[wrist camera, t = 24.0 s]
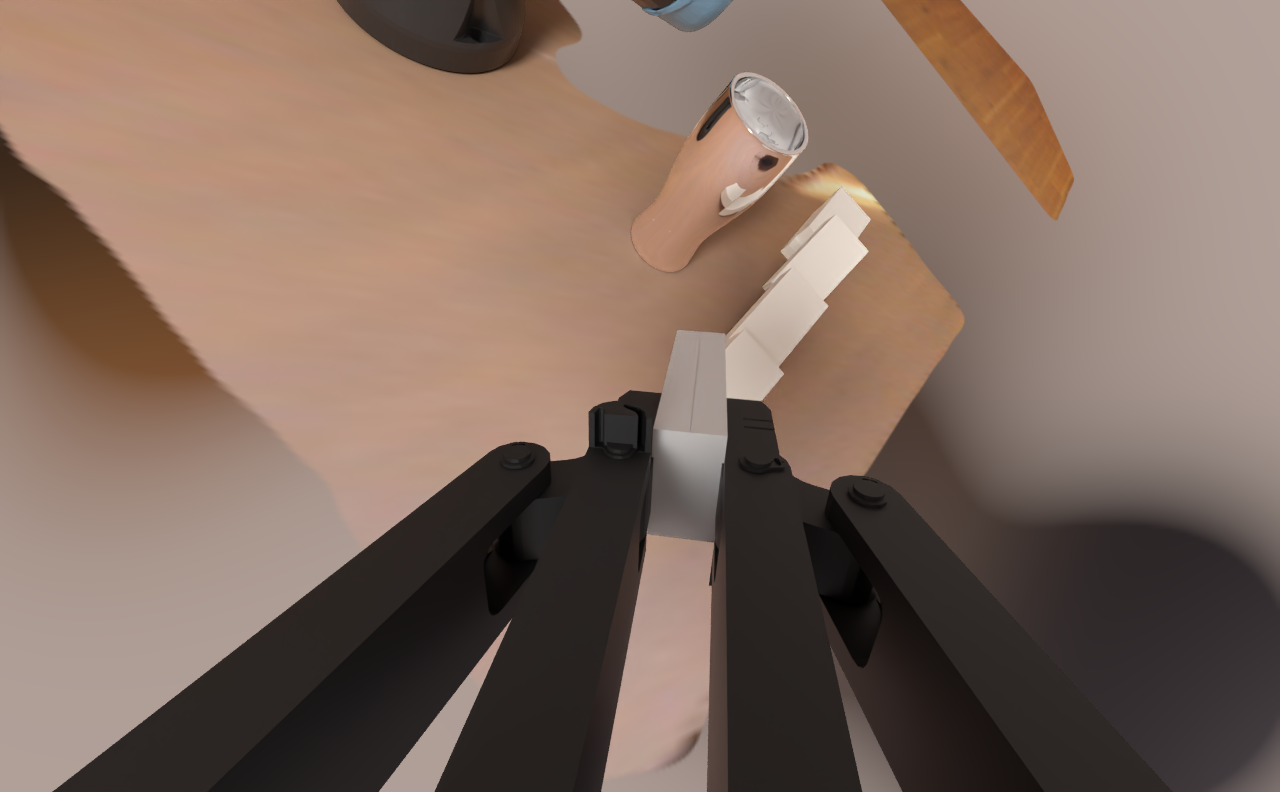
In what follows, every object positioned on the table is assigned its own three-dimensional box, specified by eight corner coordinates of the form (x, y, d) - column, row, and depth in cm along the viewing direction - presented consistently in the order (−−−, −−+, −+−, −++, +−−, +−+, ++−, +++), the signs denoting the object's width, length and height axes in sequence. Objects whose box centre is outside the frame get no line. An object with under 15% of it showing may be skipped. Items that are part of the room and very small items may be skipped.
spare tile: (712, 459, 38) (784, 373, 42) (667, 411, 38) (744, 329, 41) (700, 461, 40) (770, 379, 44) (657, 415, 40) (731, 336, 43)
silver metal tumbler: (645, 196, 47) (746, 52, 34) (703, 243, 48) (820, 122, 36) (612, 242, 43) (713, 100, 31) (676, 291, 45) (797, 175, 32)
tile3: (805, 319, 49) (868, 251, 51) (770, 281, 48) (835, 213, 50) (795, 323, 51) (856, 257, 52) (761, 287, 50) (824, 221, 52)
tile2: (768, 378, 44) (828, 306, 47) (729, 337, 43) (792, 266, 47) (756, 383, 46) (815, 313, 49) (718, 343, 45) (780, 275, 48)
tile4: (840, 262, 52) (870, 219, 58) (808, 226, 52) (841, 186, 57) (826, 272, 54) (856, 229, 59) (794, 237, 53) (828, 197, 59)
